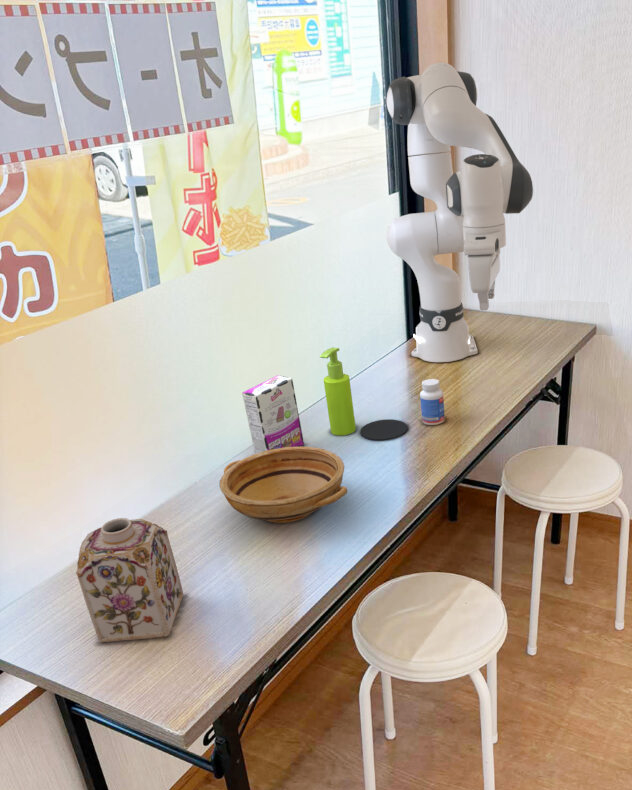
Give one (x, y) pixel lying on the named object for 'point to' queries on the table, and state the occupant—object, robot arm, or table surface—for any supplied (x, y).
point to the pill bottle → (432, 402)
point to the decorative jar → (129, 580)
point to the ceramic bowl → (283, 483)
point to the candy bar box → (273, 415)
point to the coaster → (383, 430)
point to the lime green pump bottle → (338, 396)
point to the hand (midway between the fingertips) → (487, 303)
